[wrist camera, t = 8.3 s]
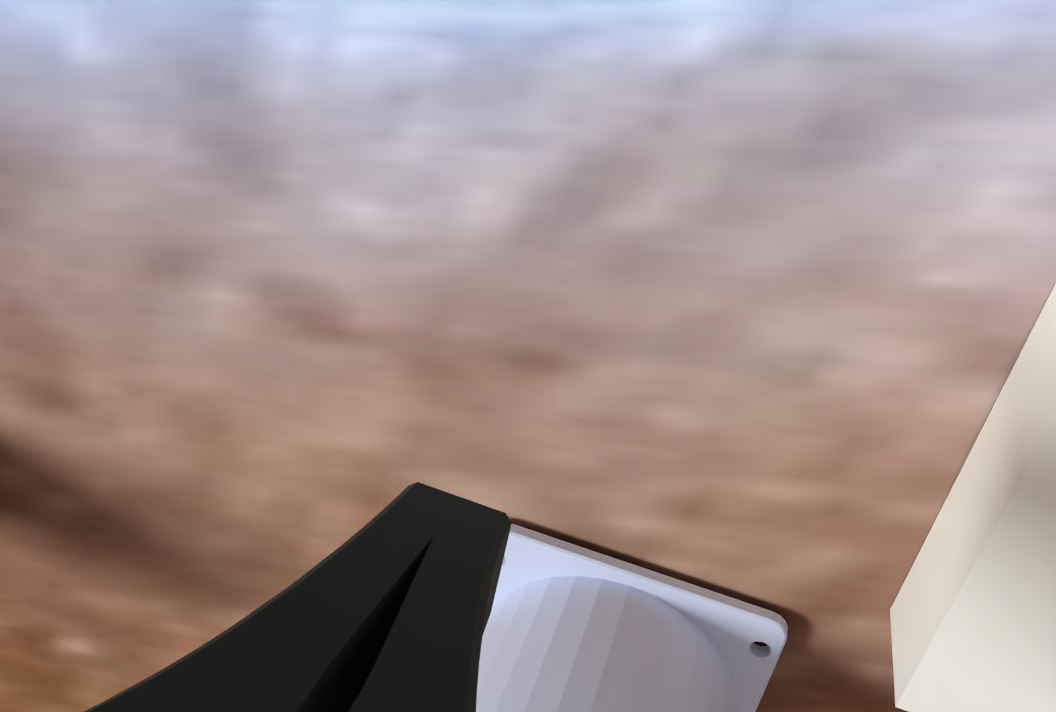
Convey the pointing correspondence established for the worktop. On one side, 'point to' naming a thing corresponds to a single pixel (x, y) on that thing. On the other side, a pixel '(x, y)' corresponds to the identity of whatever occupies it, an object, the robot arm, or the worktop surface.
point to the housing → (990, 561)
